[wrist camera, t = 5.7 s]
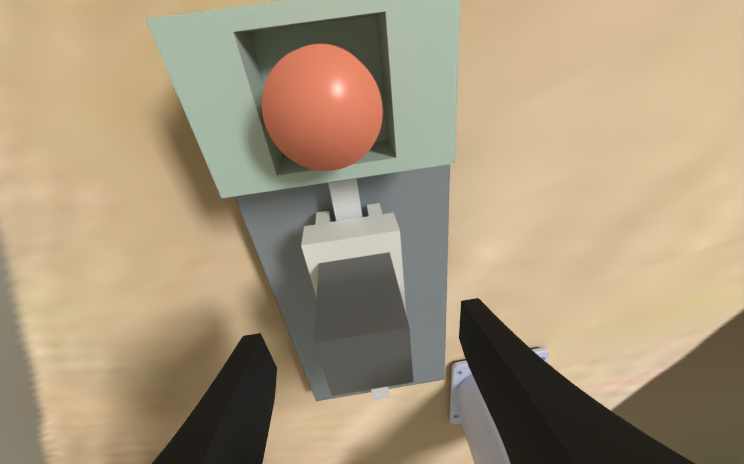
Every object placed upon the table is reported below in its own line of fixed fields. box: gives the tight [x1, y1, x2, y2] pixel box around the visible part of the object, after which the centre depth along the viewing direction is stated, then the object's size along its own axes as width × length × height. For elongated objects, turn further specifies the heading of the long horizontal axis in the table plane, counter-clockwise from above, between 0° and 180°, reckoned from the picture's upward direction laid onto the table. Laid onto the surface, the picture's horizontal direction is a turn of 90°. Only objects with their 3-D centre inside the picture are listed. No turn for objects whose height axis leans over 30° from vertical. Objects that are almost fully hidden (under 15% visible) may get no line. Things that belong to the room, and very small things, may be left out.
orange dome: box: [262, 43, 383, 171], centre depth 9 cm, size 3×3×2 cm
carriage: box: [301, 203, 413, 396], centre depth 13 cm, size 5×4×7 cm
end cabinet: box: [146, 0, 460, 198], centre depth 11 cm, size 5×8×5 cm, turn 97°
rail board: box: [235, 164, 450, 401], centre depth 19 cm, size 18×10×3 cm, turn 6°
